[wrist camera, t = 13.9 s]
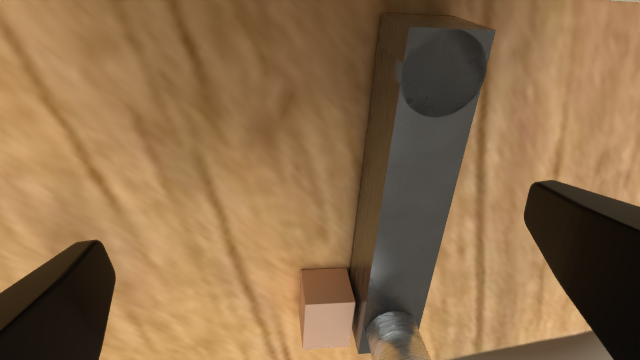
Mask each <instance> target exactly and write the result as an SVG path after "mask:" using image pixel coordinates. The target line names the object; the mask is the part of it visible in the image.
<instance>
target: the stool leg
mask: <svg viewBox="0 0 640 360" xmlns="http://www.w3.org/2000/svg"><path fill="white" fill-rule="evenodd" d="M495 31H496V30H493V29H490V28H487V27H484V26H481V25H478V24H475V23H472V22H469V21H466V20H463V19H460V18H458V17H455V16H441V15H419V14H397V13H382V17H381V25H380V33H379V41H378V46H377V50H376V66H375V74H374V82H373V90H372V98H371V106H370V115H369V123H368V131H367V139H366V147H365V155H364V164H363V172H362V180H361V188H360V196H359V204H358V212H357V221H356V229H355V237H354V245H353V253H352V261H351V270H350V278H349V280H350V284H351V288H352V292H353V295H354V299H355V308H354V315H353V322H352V330H353V334H354V338H355V342H356V346H357V351H358V354H363V353H371V355H372V359H373V360H431V359H430V356H429V354H428V351H427V349H426V347H425V344H424V342H423V339H422V337H421V335H420V332H419V326H420V322H421V318H422V315H423V311H424V307H425V303H426V299H427V295H428V291H429V287H430V283H431V280H432V276H433V272H434V268H435V264H436V260H437V256H438V252H439V248H440V245H441V241H442V237H443V233H444V229H445V225H446V221H447V217H448V213H449V210H450V206H451V202H452V198H453V194H454V190H455V186H456V182H457V178H458V175H459V171H460V167H461V163H462V159H463V155H464V151H465V147H466V143H467V140H468V136H469V132H470V128H471V124H472V120H473V116H474V112H475V109H476V105H477V101H478V97H479V93H480V89H481V86H482V83H483V81H484V78H485V73H486V66H487V62H488V58H489V54H490V50H491V46H492V42H493V39H494V35H495Z"/></svg>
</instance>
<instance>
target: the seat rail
mask: <svg viewBox="0 0 640 360" xmlns="http://www.w3.org/2000/svg"><path fill="white" fill-rule="evenodd" d="M613 1H629V2H640V0H613Z"/></svg>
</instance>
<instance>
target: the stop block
mask: <svg viewBox="0 0 640 360" xmlns="http://www.w3.org/2000/svg"><path fill="white" fill-rule="evenodd" d="M354 308H355V299H354V295H353V292H352V288H351V284H350V280H349V277H348V273H347V269H346V268H335V269H310V270H301V283H300V303H299V318H300V328H301V338H302V348H303V350H309V349H323V348H338V347H349V343H350V336H351V329H352V322H353V315H354Z"/></svg>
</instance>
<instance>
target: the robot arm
mask: <svg viewBox="0 0 640 360" xmlns="http://www.w3.org/2000/svg"><path fill="white" fill-rule="evenodd" d="M524 221H525V224H526V226H527V228H528V230H529V231H530V233H531V235H532V237H533V239H534V240H535V242H536V244H537V246H538V247H539V249H540V251H541V253H542V254H543V256H544V258H545V260H546V261H547V263H548V265H549V267H550V268H551V270H552V272H553V274H554V275H555V277H556V279H557V280H558V282H559V283H560V285H561V286H562V288H563V289H564V291H565V292H566V294H567V295H568V297H569V298H570V299H571V301H572V302H573V304H574V305H575V306H576V308H577V309H578V311H579V312H580V313H581V315H582V316H583V318H584V319H585V320H586V322H587V323H588V325H589V326H590V327H591V329H592V330H593V332H594V333H595V334H596V336H597V337H598V338H599V340H600V341H601V343H602V344H603V346H604V347H605V348H606V350H607V351H608V352H609V354H610V355H611V357H612V358H613V360H640V207H638V206H635V205H632V204H629V203H626V202H622V201H619V200H616V199H613V198H609V197H606V196H603V195H600V194H597V193H593V192H590V191H587V190H584V189H581V188H577V187H574V186H571V185H568V184H564V183H561V182H558V181H555V180H547V181H540V182H535V183H533V184H532V185H531V187H530V189H529V194H528V198H527V202H526V207H525V211H524ZM115 280H116V276H115V271H114V268H113V266H112V263H111V261H110V259H109V257H108V254H107V252H106V250H105V248H104V246H103V244H102V243H101V242H100V241H98V240H89V241H81V242H77V243H75V244H73V245H71V246H70V247H68V248H67V249H65V250H64V251H62V252H61V253H59V254H58V255H56V256H55V257H54V258H52V259H51V260H49V261H48V262H46V263H45V264H43V265H42V266H40V267H39V268H37V269H36V270H34V271H33V272H31V273H30V274H28V275H27V276H25V277H24V278H22V279H21V280H19V281H18V282H16V283H15V284H13V285H12V286H10V287H9V288H7V289H6V290H4V291H3V292H1V293H0V360H99V356H100V353H101V349H102V345H103V341H104V336H105V331H106V326H107V321H108V316H109V311H110V306H111V301H112V296H113V291H114V286H115Z"/></svg>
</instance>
